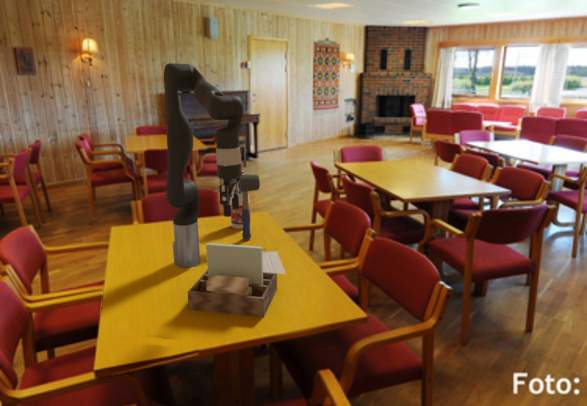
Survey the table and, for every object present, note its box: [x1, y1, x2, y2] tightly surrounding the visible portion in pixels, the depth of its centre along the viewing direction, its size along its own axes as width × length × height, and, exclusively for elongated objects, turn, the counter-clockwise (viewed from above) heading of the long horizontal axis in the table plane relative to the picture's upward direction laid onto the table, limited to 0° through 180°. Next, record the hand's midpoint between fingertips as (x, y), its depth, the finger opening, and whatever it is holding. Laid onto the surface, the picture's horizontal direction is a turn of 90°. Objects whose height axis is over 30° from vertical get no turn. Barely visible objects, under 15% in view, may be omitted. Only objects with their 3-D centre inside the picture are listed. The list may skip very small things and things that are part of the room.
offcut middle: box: [210, 287, 252, 296], centre depth 136 cm, size 12×5×3 cm, turn 79°
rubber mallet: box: [240, 174, 261, 241], centre depth 194 cm, size 12×8×30 cm, turn 105°
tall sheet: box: [205, 242, 263, 285], centre depth 141 cm, size 18×2×18 cm, turn 79°
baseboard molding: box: [262, 248, 287, 275], centre depth 167 cm, size 31×3×12 cm
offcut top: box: [206, 275, 249, 294], centre depth 135 cm, size 12×5×3 cm, turn 79°
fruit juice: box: [230, 169, 251, 230], centre depth 212 cm, size 9×9×28 cm
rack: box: [187, 269, 278, 318], centre depth 141 cm, size 24×18×8 cm
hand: (231, 212), depth 139 cm, fingers open, 8 cm apart
